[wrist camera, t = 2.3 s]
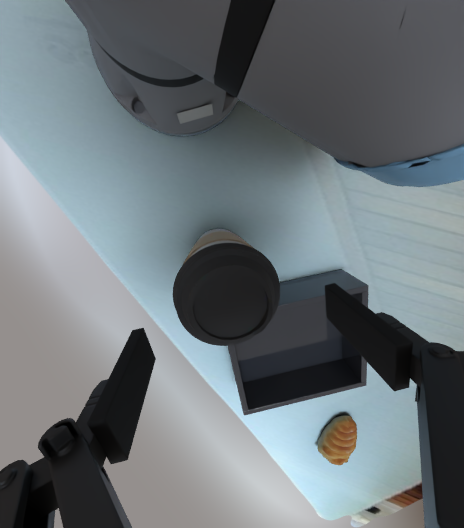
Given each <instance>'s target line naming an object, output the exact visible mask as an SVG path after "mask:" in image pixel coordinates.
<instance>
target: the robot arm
mask: <svg viewBox="0 0 464 528" xmlns="http://www.w3.org/2000/svg"><path fill="white" fill-rule="evenodd" d="M65 1H66V2H67V4H68V5H69V6H70V8H71V9H72V10H73V12H74V13H75V14H76V15H77V17H78V18H79V19H80V21H81V22H82V23H83V25H84V26H85V27H86V29H87V32H88V36H89V41H90V45H91V49H92V53H93V56H94V59H95V61H96V64H97V66H98V69H99V71H100V73H101V75H102V77H103V79H104V81H105V82H106V84H107V86H108V88H109V89H110V91H111V92H112V94H113V95H114V96H115V98H116V99H117V100H118V101H119V102H120V104H121V105H122V106H123V107H124V108H125V109H126V110H127V111H128V112H129V113H130V114H131V115H132V116H133V117H135V118H136V119H137V120H138V121H140V122H141V123H143V124H144V125H146V126H147V127H149V128H151V129H153V130H155V131H158V132H160V133H164V134H167V135H172V136H192V135H197V134H201V133H203V132H206V131H208V130H210V129H212V128H214V127H215V126H217V125H218V124H219V123H221V122H222V121H223V120H224V119H225V118H226V117H227V116H228V115H229V114H230V112H231V111H232V110H233V108H234V107H235V105H236V104H237V102H238V100H240V101H242V102H244V103H245V104H247V105H249V106H250V107H252V108H254V109H255V110H257V111H259V112H260V113H262V114H264V115H265V116H267V117H268V118H270V119H272V120H273V121H275V122H277V123H278V124H280V125H282V126H283V127H285V128H287V129H288V130H290V131H292V132H293V133H295V134H297V135H298V136H300V137H302V138H303V139H305V140H306V141H308V142H310V143H311V144H313V145H315V146H316V147H318V148H320V149H321V150H323V151H325V152H326V153H328V154H330V155H331V156H333V157H334V159H335V160H336V161H337V162H338V163H339V164H341V165H343V166H344V167H347V168H350V169H353V170H359V171H362V172H364V173H366V174H368V175H370V176H372V177H374V178H376V179H378V180H380V181H382V182H384V183H387V184H391V185H396V186H414V187H426V186H436V185H442V184H447V183H452V182H456V181H460V180H464V0H65ZM325 300H326V315H327V319H328V320H329V321H330V322H331V323H332V324H333V325H334V326H335V327H336V328H337V329H338V331H339V332H340V333H341V334H342V335H343V336H344V337H345V338H346V339H347V340H348V341H349V343H350V344H351V345H352V346H353V347H354V348H355V349H356V350H357V351H358V352H359V353H360V355H361V356H362V357H363V358H364V359H365V360H366V361H367V362H368V363H369V364H370V365H371V366H372V368H373V369H374V370H375V371H376V372H377V373H378V374H379V375H380V376H381V377H382V378H383V380H384V381H385V382H386V383H387V384H388V385H389V386H390V387H391V388H392V389H393V390H394V391H397V390H401V389H405V388H409V382H410V378H411V379H412V380H413V381H414V382H415V383H416V384H417V388H416V398H415V401H416V402H417V408H418V424H419V441H420V457H421V473H422V489H423V506H424V521H425V528H464V351H455V350H453V349H452V348H450V347H448V346H446V345H443V344H440V343H432V342H430V343H429V342H428V341H426V340H425V339H424V338H422V337H421V336H419V335H418V334H417V333H415V332H414V331H412V330H411V329H409V328H408V327H406V326H405V325H404V324H402V323H400V322H399V321H398V320H397V319H395V318H394V317H392V316H390V315H388V314H385V313H382V312H381V313H377V314H375V313H374V312H373V311H371V310H370V309H369V308H367V307H366V306H365V305H363V304H362V303H361V302H359V301H358V300H357V299H355V298H354V297H353V296H351V295H350V294H349V293H347V292H346V291H345V290H343V289H342V288H341V287H339V286H338V285H337V284H336V283H332V284H328V285H325ZM154 363H155V356H154V354H153V351H152V348H151V346H150V343H149V341H148V338H147V336H146V333H145V331H144V328H141V329H136V330H133V331H132V332H131V335H130V336H129V339H128V341H127V343H126V345H125V347H124V349H123V351H122V353H121V355H120V357H119V359H118V361H117V363H116V365H115V367H114V369H113V371H112V373H111V375H110V377H109V379H107V380H103V381H101V382H100V383H99V384H98V385H97V387H96V388H95V389H94V390H93V392H92V394H91V396H90V397H89V400H88V401H87V403H86V405H85V407H84V409H83V410H82V412H81V414H80V416H79V418H78V420H77V422H75V421H74V420H73V419H71V418H69V419H68V418H67V419H64V420H61V421H59V422H58V423H56V424H54V425H53V426H52V427H51V428H49V429H48V430H47V431H46V432H45V434H44V435H43V436H42V437H41V439H40V441H39V444H38V448H39V450H40V451H41V453H42V454H43V455H44V458H42V459H40V460H38V461H36V462H34V463H33V464H31V465H28V464H27V463H26V462H25V461H24V460H18V461H15V462H13V463H11V464H9V465H8V466H6V467H5V468H3V469H2V470H1V471H0V528H54V517H55V510H56V509H57V508H59V511H60V515H61V519H62V523H63V527H64V528H132V526H131V524H130V522H129V520H128V518H127V516H126V514H125V512H124V509H123V507H122V505H121V503H120V501H119V499H118V497H117V494H116V492H115V490H114V488H113V486H112V484H111V482H110V479H109V478H108V475H107V473H106V471H105V469H104V467H103V464H104V461H105V459H106V457H107V458H108V460H109V462H110V463H111V464H114V463H118V462H122V461H125V460H128V456H129V453H130V449H131V446H132V442H133V438H134V435H135V431H136V428H137V424H138V420H139V417H140V413H141V410H142V406H143V402H144V399H145V395H146V391H147V388H148V384H149V381H150V377H151V373H152V370H153V366H154Z"/></svg>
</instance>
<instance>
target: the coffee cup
mask: <svg viewBox="0 0 464 528" xmlns="http://www.w3.org/2000/svg"><path fill="white" fill-rule="evenodd" d="M279 300H280V284H279V279H278V275H277V273H276V270H275V268H274V267H273V265H272V264H271V262H270V261H269V260H268V259H267V258H266V257H265V256H264V255H263V254H262V253H260V252H259V251H257V250H256V249H254V248H253V247H252V246H250V245H249V244H248V243H247V242H246V241H244V240H243V239H242V238H240V237H239V236H237V235H236V234H234V233H233V232H231V231H229V230H226V229H212V230H209V231H207V232H206V233H204V234H203V235H202V236H201V237H200V238H199V239H198V240H197V242H196V244H195V245H194V246H193V248H192V249H191V251H190V253H189V255H188V256H187V258H186V260H185V262H184V263H183V265H182V267H181V268H180V270H179V272H178V274H177V276H176V279H175V282H174V287H173V301H174V305H175V308H176V311H177V314H178V317H179V319H180V321H181V323H182V325H183V326H184V328H185V329H186V330H187V331H188V332H189V333H190V334H191V335H192V336H194V337H195V338H197V339H199V340H201V341H203V342H205V343H208V344H212V345H220V346H227V345H234V344H239V343H242V342H244V341H247V340H249V339H251V338H253V337H254V336H256V335H257V334H259V333H260V332H262V331H263V330H264V329H265V328H266V326H267V325H268V324H269V323H270V321H271V320H272V318H273V317H274V315H275V313H276V311H277V308H278V305H279Z"/></svg>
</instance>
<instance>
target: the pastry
mask: <svg viewBox="0 0 464 528" xmlns="http://www.w3.org/2000/svg"><path fill="white" fill-rule="evenodd" d="M356 439H357V428H356V423H355V422H354V421H353V419H352V417H351V416H340V417H336V418H334V419H333V420H331V423H330V424H328V425H327V426H326V427H325V429H324V430H323V432H322V434H321V437H319V439H318V451H319V452H320V453H321V454H322V455H323V457H325V458H326V459H327V460H328V461H329V462H330V463H332V464H335V465H342V464H343V463H345V462H348V459H349V456H350V455H351V453H352V452H353V451H354V449H355V447H356Z"/></svg>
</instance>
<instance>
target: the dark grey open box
mask: <svg viewBox="0 0 464 528" xmlns="http://www.w3.org/2000/svg"><path fill="white" fill-rule="evenodd" d="M332 283H336V284H337V285H338V286H339V287H341V288H342V289H343V290H345V291H346V292H347V293H349V294H350V295H351V296H353V297H354V298H355V299H357V300H358V301H359V302H361V303H362V304H363V305H365V306H366V307H367V308H368V285H367V284H365V283H363V282H362V281H360V280H359V279H357V278H355V277H354V276H352V275H350V274H349V273H347V272H345V271H344V270H342V269H339V270H335V271H330V272H326V273H321V274H317V275H312V276H307V277H303V278H298V279H294V280H289V281H285V282H280V283H279V284H280V300H279V305H278V308H277V311H276V313H275V315H274V317H273V318H272V320H271V321H270V323H269V324H268V325H267V326H266V328H265V329H264V330H263V331H262V332H260V333H259V334H257V335H256V336H254V337H253V338H251V339H249V340H247V341H244V342H242V343H239V344H234V345H228V349H229V353H230V358H231V362H232V366H233V371H234V375H235V379H236V384H237V388H238V392H239V396H240V401H241V405H242V409H243V414H244V415H248V414H252V413H256V412H260V411H264V410H268V409H272V408H276V407H280V406H285V405H289V404H293V403H297V402H301V401H305V400H309V399H313V398H317V397H321V396H325V395H329V394H333V393H337V392H341V391H345V390H349V389H353V388H358V387H362V386H366V376H367V361H366V360H365V359H364V358H363V357H362V356H361V355H360V353H359V352H358V351H357V350H356V349H355V348H354V347H353V346H352V345H351V344H350V343H349V341H348V340H347V339H346V338H345V337H344V336H343V335H342V334H341V333H340V332H339V331H338V329H337V328H336V327H335V326H334V325H333V324H332V323H331V322H330V321H329V320H328V319H327V315H326V300H325V285H328V284H332Z"/></svg>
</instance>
